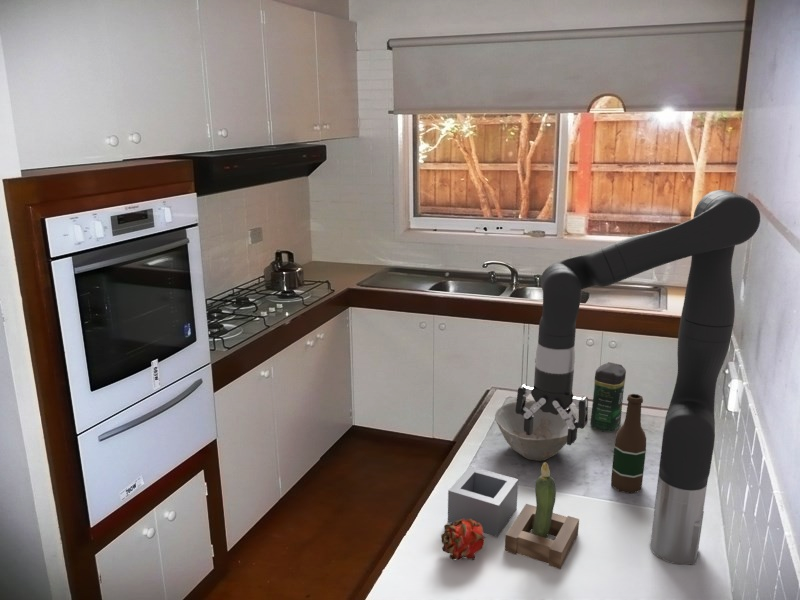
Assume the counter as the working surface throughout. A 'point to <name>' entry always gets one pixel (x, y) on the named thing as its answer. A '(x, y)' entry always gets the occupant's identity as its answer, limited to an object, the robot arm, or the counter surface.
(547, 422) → the ceramic bowl
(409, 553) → the counter surface
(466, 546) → the dragon fruit
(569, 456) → the counter surface
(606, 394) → the coffee jar
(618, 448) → the beer bottle
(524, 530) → the board
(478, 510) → the holder
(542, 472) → the vegetable
